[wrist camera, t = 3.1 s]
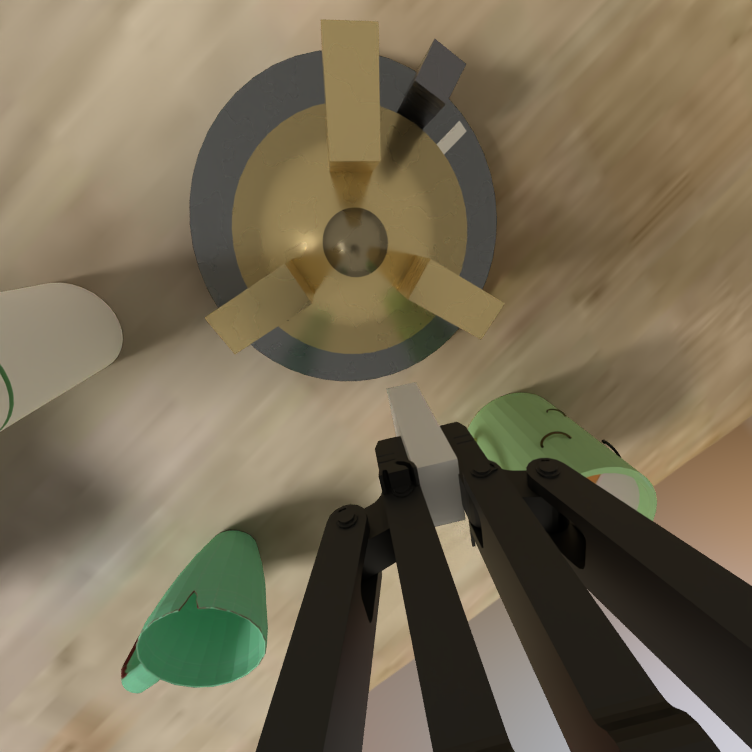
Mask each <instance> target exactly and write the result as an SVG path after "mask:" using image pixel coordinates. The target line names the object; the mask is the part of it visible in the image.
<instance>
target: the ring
mask: <svg viewBox="0 0 752 752" xmlns="http://www.w3.org/2000/svg"><path fill="white" fill-rule="evenodd" d="M465 66H466V63H464V62H463V61H462V60H461V59H459V58H458V57H457V56H456V55H454V54H453V53H452V52H451V51H450V50H448V49H447V48H446V47H445V46H443V45H442V44H441V43H440V42H438V41H437V40H436V39H434V41H433V43H432V45H431V46H430V48H429V50H428V52H427V54H426V55H425V57H424V59H423V61H422V63H421V65H420V66H419V68H418V70H417V72H415V71H413V70H412V69H410V68H408V67H406V66H404V65H402V64H400V63H398V62H395V61H393V60H391V59H389V58H385V57H382V56H379V89H380V106H381V107H384V108H387V109H389V110H391V111H394V112H396V113H398V114H400V115H402V116H403V117H405V118H407V119H408V120H410V121H411V122H413V123H414V124H416V125H417V126H418V127H419V128H420V129H422V130H423V131H424V132H425V133H426V134H427V135H428V136H429V137H430V138H431V139H432V140H433V141H434V142H435V143H436V145H437V146H438V147H439V148H440V150H441V151H442V153H443V154H444V155H445V157H446V158H447V160H448V161H449V163H450V165H451V167H452V169H453V171H454V173H455V175H456V177H457V180H458V183H459V186H460V188H461V191H462V195H463V199H464V204H465V208H466V217H467V244H466V252H465V258H464V262H463V266H462V270H461V273H460V275H459V276H460V277H462V278H463V279H465V280H467V281H468V282H470V283H472V284H473V285H475V286H477V287H478V288H480V289H483V287H484V284H485V282H486V279H487V277H488V273H489V270H490V266H491V262H492V259H493V253H494V247H495V240H496V223H497V214H496V201H495V193H494V188H493V183H492V178H491V174H490V171H489V168H488V165H487V162H486V159H485V155H484V153H483V151H482V149H481V146H480V144H479V142H478V140H477V138H476V136H475V134H474V132H473V131H472V129H471V127H470V126H469V124H468V123H467V121H466V120H465V118H464V117H463V115H462V114H461V112H460V111H459V110H458V109H457V108H456V107H455V105H454V104H453V103H452V102H451V101H450V100H449V97H450V95H451V93H452V91H453V89H454V87H455V85H456V83H457V81H458V79H459V77H460V75H461V73H462V71H463V70H464V68H465ZM324 103H325V94H324V78H323V63H322V51H315V52H311V53H306V54H302V55H297V56H294V57H292V58H289V59H287V60H284V61H282V62H280V63H277V64H275V65H273V66H271V67H270V68H268V69H266V70H265V71H263V72H261V73H260V74H258V75H257V76H255V77H253V78H252V79H251V80H250V81H249V82H248V83H247V84H245V85H244V86H243V87H242V88H241V89H240V90H239V91H237V92H236V93H235V94H234V96H233V97H232V98H231V99H230V100H229V102H228V103H227V104H226V105H225V106H224V108H223V109H222V110H221V111H220V113H219V114H218V116H217V118H216V119H215V121H214V122H213V124H212V126H211V127H210V129H209V131H208V133H207V135H206V137H205V140H204V142H203V144H202V147H201V149H200V152H199V154H198V158H197V162H196V165H195V169H194V173H193V177H192V185H191V193H190V229H191V236H192V243H193V248H194V252H195V256H196V259H197V263H198V267H199V270H200V272H201V274H202V277H203V279H204V282H205V284H206V287H207V289H208V291H209V292H210V294H211V296H212V298H213V300H214V302H215V303H216V305H217V307H218V308H219V307H221V306H222V305H224V304H225V303H227V302H228V301H230V300H231V299H233V298H234V297H236V296H237V295H238V294H240V293H241V292H243V291H244V290H246V289H247V286H246V284H245V282H244V280H243V277H242V275H241V272H240V269H239V266H238V264H237V260H236V255H235V251H234V247H233V237H232V210H233V204H234V198H235V193H236V190H237V186H238V183H239V180H240V177H241V175H242V172H243V170H244V168H245V166H246V164H247V161H248V160H249V158H250V157H251V155H252V154H253V152H254V151H255V149H256V147H257V146H258V145H259V144H260V143H261V141H262V140H263V139H264V138H265V137H266V136H267V135H268V133H270V132H271V131H272V130H273V129H274V128H275V127H277V126H278V125H279V124H280V123H281V122H283V121H284V120H286V119H288V118H289V117H291V116H293V115H294V114H296V113H298V112H300V111H302V110H305V109H307V108H310V107H312V106H316V105H320V104H324ZM458 328H459V327H457V326H455V325H454V324H452V323H450V322H448V321H446V320H444V319H443V318H441V317H439V316H437V315H436V316H435V317H434V318H433V319H432V321H430V322H429V323H428V324H427V325H426V326H425V327H424V328H423V329H422V330H420V331H419V332H417V333H416V334H415V335H413V336H412V337H410V338H409V339H407V340H405V341H403V342H401V343H399V344H397V345H394V346H392V347H389V348H387V349H383V350H379V351H376V352H371V353H362V354H342V353H334V352H329V351H325V350H321V349H318V348H315V347H313V346H310V345H307V344H305V343H303V342H301V341H299V340H298V339H296V338H294V337H292V336H291V335H289V334H288V333H286V332H285V331H284V330H282V329H281V328H280V327H279V326H278V327H276V328H275V329H273V330H272V331H270V332H268V333H267V334H265V335H264V336H262V337H261V338H259V339H258V340H256V341H255V342H253V343H252V344H251V345H252V346H253V347H254V348H255V349H257V350H258V351H259V352H261V353H262V354H264V355H265V356H267V357H268V358H270V359H271V360H273V361H275V362H277V363H279V364H281V365H282V366H284V367H286V368H288V369H291V370H293V371H296V372H299V373H302V374H304V375H308V376H312V377H316V378H320V379H326V380H335V381H361V380H369V379H376V378H380V377H384V376H387V375H391V374H394V373H396V372H399V371H402V370H404V369H407V368H409V367H410V366H412V365H414V364H416V363H418V362H420V361H422V360H423V359H425V358H426V357H428V356H429V355H430V354H432V353H433V352H435V351H436V350H437V349H438V348H440V347H441V346H442V345H443V344H444V343H445V342H446V341H447V340H449V339H450V337H451V336H452V335H453V334H454V333H455V332H456V331H457V330H458Z"/></svg>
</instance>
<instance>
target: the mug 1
mask: <svg viewBox="0 0 752 752" xmlns="http://www.w3.org/2000/svg"><path fill="white" fill-rule="evenodd" d="M267 632H268V624H267V609H266V588H265V579H264V573H263V567H262V562H261V558H260V554H259V551H258V547H257V544H256V542H255V540H254V539H253V538H252V537H251V536H250V535H249V534H247V533H245V532H241V531H225V532H222V533H220V534H218V535H216V536H215V537H214V538H213V539H212V540H211V541H210V542H209V543H208V544H207V545H206V546H205V547H204V548H203V549H202V550H201V551H200V552H199V553H198V554H197V555H196V556H195V557H194V558H193V559H192V561H191V562H190V563H189V564H188V565H187V566H186V568H185V569H184V570H183V571H182V572H181V573H180V575H179V576H178V577H177V578H176V580H175V581H174V582H173V584H172V585H171V586H170V588H169V589H168V590H167V592H166V593H165V594H164V596H163V597H162V599H161V600H160V602H159V603H158V605H157V606H156V608H155V609H154V611H153V612H152V614H151V615H150V616H149V618H148V619H147V621H146V623H145V625H144V627H143V629H142V631H141V633H140V635H139V637H138V639H137V640H136V642H135V644H134V646H133V648H132V650H131V652H130V654H129V655H128V657H127V659H126V661H125V663H124V665H123V667H122V669H121V680H122V685H123V687H124V688H125V689H126V690H127V691H129V692H132V693H141V692H143V691H145V690H146V689H148V688H149V687H151V686H152V685H154V684H155V683H157V682H158V681H159V680H163V681H166V682H169V683H171V684H174V685H179V686H186V687H194V688H197V687H214V686H218V685H222V684H227V683H231V682H233V681H235V680H237V679H240V678H242V677H244V676H246V675H248V674H249V673H250V672H251V671H252V670H253V669H255V668H256V667H257V666H258V665H259V664H260V662H261V660H262V659H263V657H264V655H265V653H266V647H267Z"/></svg>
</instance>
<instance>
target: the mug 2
mask: <svg viewBox="0 0 752 752" xmlns="http://www.w3.org/2000/svg"><path fill="white" fill-rule="evenodd" d="M468 431H469V432H470V434H471V435H472V437H473V438H474V440H475V441H476V442H477V444H478V445H479V447H480V448H481V450H482V451H483V453H484V454H485V456H486V457H487V459H488V460H491V461H493V462H496V463H497V464H498V465H499V466H500V467H501V468H502V469H505V470H526V467H527V465H528V463H530V462H531V461H532V460H535V459H538V458H552V459H556V460H559V461H561V462H563V463H565V464H566V465H568V466H569V467H571V468H572V469H574V470H575V471H577V472H578V473H580V474H581V475H583V476H585V477H586V478H588V479H589V480H591V481H592V482H594V483H595V484H597V485H598V486H600V487H601V488H603V489H604V490H606V491H607V492H609V493H610V494H612V495H614V496H615V497H617V498H618V499H620V500H621V501H623V502H624V503H626V504H627V505H629V506H630V507H632V508H633V509H635V510H636V511H638V512H639V513H641V514H643V515H644V516H646V517H647V518H649V519H650V520H652V521H653V519H654V516H655V512H656V506H657V498H656V492H655V490H654V488H653V485H652V484H651V483H650V481H649V480H648V479H647V478H646V477H645V476H644V475H642V474H641V473H640V472H638V471H637V470H636V469H634V468H633V467H632V466H631V465H629V464H628V463H627V462H625V461H624V460H623V459H622V458H621V456H620V455H619V453H618V452H617V450H616V449H615V448H614V447H613V446H612V445H611V444H610V443H608V442H607V441H606V440H602V442H603V443H604V444H607V445H608V446H609V447H610V448H611V449H612V450H613V451H614V452H615V453H616V454H615V453H614V452H612V451H611V450H610V449H609V448H607V447H606V446H605V445H603V444H602V443H601V442H599V441H598V440H597V439H596V438H594V437H593V436H592V435H590V434H589V433H588V432H587V431H585V430H584V429H583V428H581V427H580V426H579V425H577V424H576V423H575V422H574V421H572V420H571V419H570V418H568V417H567V416H566V415H565V414H564V413H563V412H562V411H560V410H558V409H557V408H555V407H554V406H553V405H552V404H550V403H549V402H548V401H546V400H545V399H543V398H542V397H540V396H537V395H535V394H530V393H512V394H508V395H505V396H501V397H499V398H497V399H495V400H493V401H491V402H490V403H488V404H487V405H486V406H484V407H483V408H482V409H481V410H480V411H479V412H478V413H477V414H476V415H475V417H474V418H473V419H472V421H471V423H470V425H469V426H468Z"/></svg>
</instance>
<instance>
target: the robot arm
mask: <svg viewBox="0 0 752 752" xmlns="http://www.w3.org/2000/svg"><path fill="white" fill-rule="evenodd" d="M387 393H388V398H389V403H390V408H391V413H392V417H393V422H394V427H395V432H396V436H397V437H394V438H389V439H385V440H381V441H378V443H377V445H376V448H375V452H376V457H377V462H378V467H379V480H380V484H381V488H382V493H381V496H380V497H379V499H378V500H377V501H376V502H375V503H373V504H372V505H370V506H368V507H366V508H365V509H363V508H362V507H360V506H358V505H351V504H350V505H346V506H342V507H340V508H338V509H336V510H335V511H334V512H333V513H332V514H331V515H330V517H329V519H328V521H327V524H326V527H325V531H324V534H323V537H322V540H321V543H320V547H319V550H318V553H317V556H316V560H315V563H314V566H313V569H312V572H311V576H310V579H309V582H308V585H307V588H306V592H305V595H304V598H303V601H302V604H301V608H300V611H299V614H298V617H297V621H296V624H295V627H294V630H293V633H292V637H291V640H290V643H289V646H288V649H287V653H286V656H285V659H284V662H283V666H282V669H281V672H280V675H279V678H278V682H277V685H276V688H275V691H274V694H273V698H272V701H271V704H270V707H269V710H268V714H267V717H266V720H265V723H264V727H263V730H262V733H261V736H260V739H259V743H258V746H257V749H256V752H362V745H363V736H364V727H365V718H366V710H367V701H368V693H369V684H370V675H371V666H372V658H373V649H374V640H375V632H376V623H377V614H378V606H379V597H380V588H381V579H382V570H384V569H385V568H387V567H389V566H390V565H392V564H394V563H395V562H396V563H397V568H398V573H399V579H400V584H401V589H402V594H403V599H404V604H405V609H406V614H407V620H408V625H409V630H410V635H411V640H412V645H413V650H414V656H415V661H416V666H417V671H418V676H419V681H420V686H421V691H422V696H423V702H424V707H425V712H426V717H427V722H428V727H429V732H430V738H431V742H432V748H433V752H515V751H514V750H513V748H512V746H511V744H510V741H509V739H508V736H507V733H506V731H505V727H504V725H503V722H502V719H501V716H500V713H499V710H498V708H497V704H496V702H495V699H494V696H493V693H492V690H491V687H490V684H489V681H488V679H487V676H486V673H485V670H484V667H483V664H482V662H481V659H480V656H479V653H478V650H477V647H476V644H475V641H474V638H473V635H472V633H471V630H470V627H469V624H468V621H467V618H466V615H465V612H464V610H463V607H462V604H461V601H460V598H459V595H458V592H457V589H456V587H455V584H454V581H453V578H452V575H451V572H450V569H449V566H448V564H447V561H446V558H445V555H444V552H443V549H442V546H441V544H440V541H439V538H438V535H437V532H436V529H435V527H436V526H440V525H444V524H449V523H453V522H457V521H461V520H465V513H464V510H465V512H466V514H467V516H468V519H469V526H470V534H471V542H472V547H473V546H475V542H476V544H477V546H478V549H479V551H480V553H481V555H482V557H483V560H484V562H485V564H486V566H487V568H488V571H489V573H490V575H491V577H492V579H493V582H494V584H495V586H496V588H497V590H498V593H499V595H500V597H501V599H502V601H503V603H504V606H505V608H506V610H507V612H508V614H509V617H510V619H511V621H512V623H513V626H514V627H515V630H516V632H517V634H518V637H519V639H520V641H521V643H522V645H523V647H524V650H525V652H526V654H527V656H528V659H529V661H530V663H531V665H532V667H533V670H534V672H535V674H536V676H537V678H538V680H539V683H540V685H541V687H542V689H543V691H544V694H545V696H546V698H547V700H548V702H549V705H550V707H551V709H552V711H553V714H554V716H555V718H556V720H557V722H558V725H559V727H560V729H561V731H562V733H563V736H564V738H565V740H566V742H567V744H568V747H569V749H570V751H571V752H720V750H719V749H718V748H717V746H716V745H715V744H714V742H713V741H712V739H711V738H710V737H709V736H708V735H707V733H706V732H705V731H704V730H703V729H702V727H701V726H700V725H699V724H698V723H697V721H695V720H694V719H693V718H692V717H691V716H690V715H689V714H687V713H686V712H684V711H682V710H680V709H677V708H675V707H673V706H671V705H670V704H669V703H668V702H667V701H666V700H665V699H664V697H663V696H662V695H661V693H660V692H659V691H658V689H657V688H656V686H655V685H654V684H653V682H652V681H651V680H650V678H649V677H648V675H647V674H646V672H645V671H644V669H643V668H642V667H641V665H640V664H639V662H638V661H637V660H636V658H635V657H634V655H633V654H632V653H631V651H630V650H629V648H628V647H627V646H626V644H625V643H624V641H623V640H622V639H621V637H620V636H619V634H618V633H617V631H616V630H615V628H614V627H613V626H612V624H611V623H610V621H609V620H608V618H607V617H606V616H605V614H604V613H603V611H602V610H601V609H600V607H599V606H598V604H597V603H596V602H595V600H594V599H593V597H592V596H591V594H590V593H589V592H588V590H589V591H590V592H591V593H592V594H593V595H594V596H595V597H596V598H597V599H598V600H599V601H600V602H601V603H602V604H603V605H604V606H605V607H606V608H607V609H608V610H609V611H610V612H611V613H612V614H614V616H615V617H617V618H618V619H619V620H620V621H621V622H622V623H623V624H624V625H625V626H626V627H627V628H628V629H629V630H630V631H631V632H632V633H633V634H634V635H635V636H636V637H637V638H638V639H639V640H640V641H641V642H642V643H643V644H644V645H645V646H646V647H647V648H648V649H649V650H651V652H652V653H654V655H655V656H657V657H658V658H659V659H660V660H661V661H662V662H663V663H664V664H665V665H666V666H667V667H668V668H669V669H670V670H671V671H672V672H673V673H674V674H675V675H676V676H677V677H678V678H679V679H680V680H681V681H682V682H683V683H684V684H685V685H686V686H687V687H689V689H690V690H691V691H692V692H694V694H696V695H697V696H698V697H699V698H700V699H701V700H702V701H703V702H704V703H705V704H706V705H707V706H708V707H709V708H710V709H711V710H712V711H713V712H714V713H715V714H716V715H717V716H718V717H719V718H720V719H721V720H722V721H723V722H724V723H725V724H726V725H727V726H728V727H729V728H730V729H731V730H732V731H733V732H735V734H737V735H738V736H739V737H740V738H741V739H742V740H743V741H744V742H745V743H746V744H747V745H748V746H749V747H750V748H751V749H752V586H751V585H749V584H748V583H746V582H745V581H743V580H742V579H740V578H739V577H737V576H736V575H734V574H732V573H731V572H730V571H728V570H726V569H725V568H723V567H722V566H720V565H719V564H717V563H716V562H714V561H712V560H711V559H709V558H708V557H707V556H705V555H704V554H702V553H701V552H699V551H697V550H696V549H694V548H693V547H691V546H690V545H688V544H687V543H685V542H684V541H682V540H680V539H679V538H677V537H676V536H675V535H673V534H671V533H670V532H668V531H667V530H665V529H664V528H662V527H661V526H659V525H658V524H656V523H655V522H653V521H652V520H650V519H649V518H647V517H646V516H644V515H643V514H641V513H639V512H638V511H636V510H635V509H633V508H632V507H630V506H629V505H627V504H626V503H624V502H623V501H621V500H620V499H618V498H617V497H615V496H614V495H612V494H610V493H609V492H607V491H606V490H604V489H603V488H601V487H600V486H598V485H597V484H595V483H594V482H592V481H591V480H589V479H588V478H586V477H585V476H583V475H581V474H580V473H578V472H577V471H575V470H574V469H572V468H571V467H569V466H568V465H566V464H565V463H563V462H561V461H559V460H556V459H552V458H538V459H535V460H532V461H531V462H530V463H528V465H527V467H526V470H505V469H502V468H501V467H500V466H499V465H498V464H497V463H496V462H493V461H491V460H488V459H487V457H486V456H485V454H484V453H483V451H482V450H481V448H480V447H479V445H478V444H477V442H476V441H475V440H474V438H473V437H472V435H471V434H470V432H469V431H468V429H467V428H466V427H465V426H464V425H462V424H460V423H458V422H454V423H450V424H446V425H441V426H439V424H438V422H437V420H436V419H435V417H434V415H433V413H432V411H431V410H430V408H429V406H428V404H427V402H426V400H425V399H424V397H423V395H422V393H421V391H420V389H419V388H418V386H417V384H416V382H414V383H409V384H405V385H401V386H396V387H392V388H388V389H387ZM586 588H587V589H588V590H587V589H586Z"/></svg>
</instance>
